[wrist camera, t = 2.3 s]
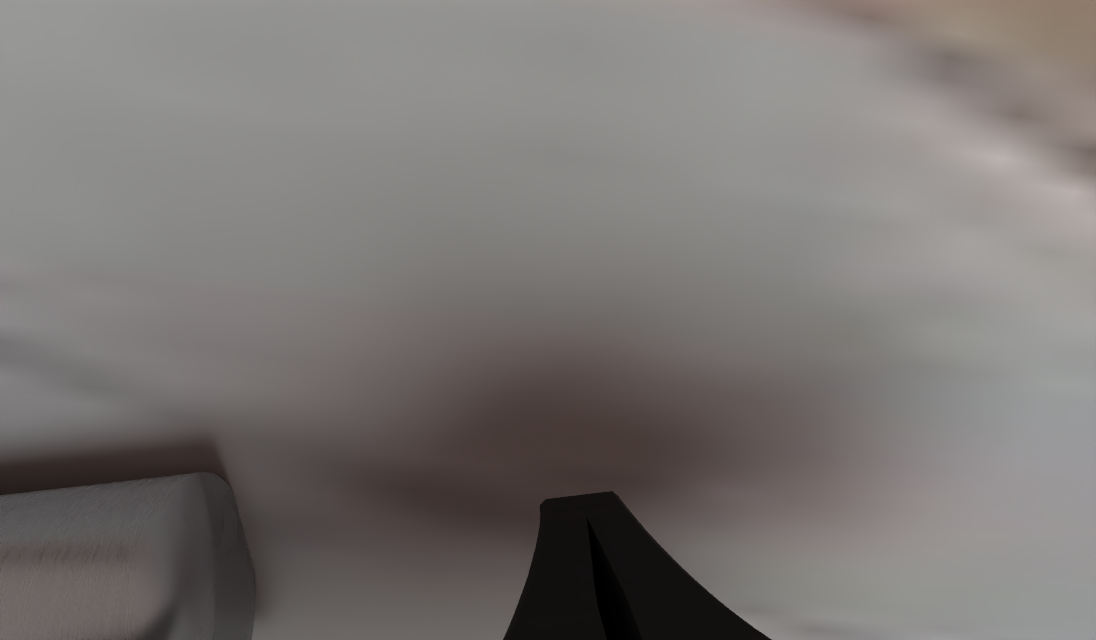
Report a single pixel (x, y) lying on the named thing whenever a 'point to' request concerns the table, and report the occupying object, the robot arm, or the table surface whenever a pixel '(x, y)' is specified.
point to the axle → (126, 562)
